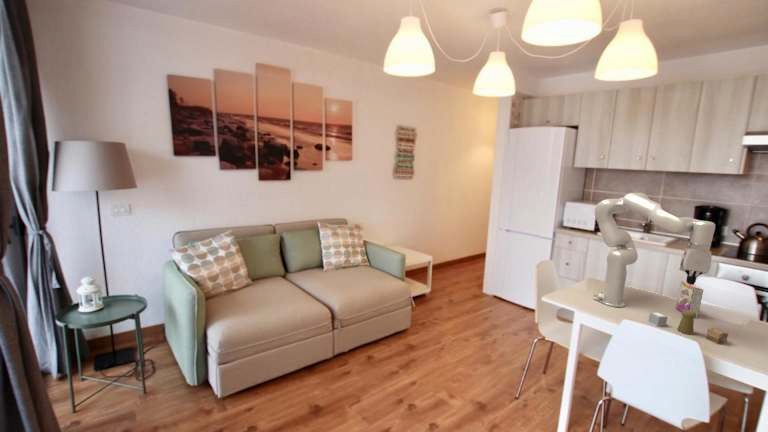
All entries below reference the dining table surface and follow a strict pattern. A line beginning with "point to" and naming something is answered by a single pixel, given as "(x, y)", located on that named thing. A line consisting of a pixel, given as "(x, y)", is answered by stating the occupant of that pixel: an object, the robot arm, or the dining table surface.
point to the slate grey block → (657, 319)
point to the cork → (687, 322)
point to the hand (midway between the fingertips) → (690, 283)
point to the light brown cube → (717, 336)
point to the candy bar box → (689, 297)
